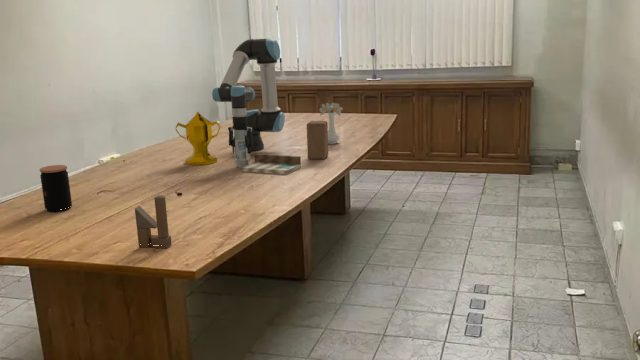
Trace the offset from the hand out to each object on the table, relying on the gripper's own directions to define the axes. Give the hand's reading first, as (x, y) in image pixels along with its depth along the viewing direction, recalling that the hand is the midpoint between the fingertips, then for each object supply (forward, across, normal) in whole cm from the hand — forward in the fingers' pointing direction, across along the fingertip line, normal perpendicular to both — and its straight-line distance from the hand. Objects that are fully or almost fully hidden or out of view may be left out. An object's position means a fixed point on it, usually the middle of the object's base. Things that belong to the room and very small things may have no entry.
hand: (242, 159), depth 338 cm
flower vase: (+4, +21, +73) cm, 76 cm away
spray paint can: (+4, 0, 0) cm, 4 cm away
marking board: (+4, +18, -2) cm, 18 cm away
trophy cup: (+4, -29, +4) cm, 30 cm away
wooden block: (+4, +30, +31) cm, 44 cm away
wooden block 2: (+4, +33, -118) cm, 122 cm away
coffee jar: (+4, -36, -93) cm, 99 cm away
